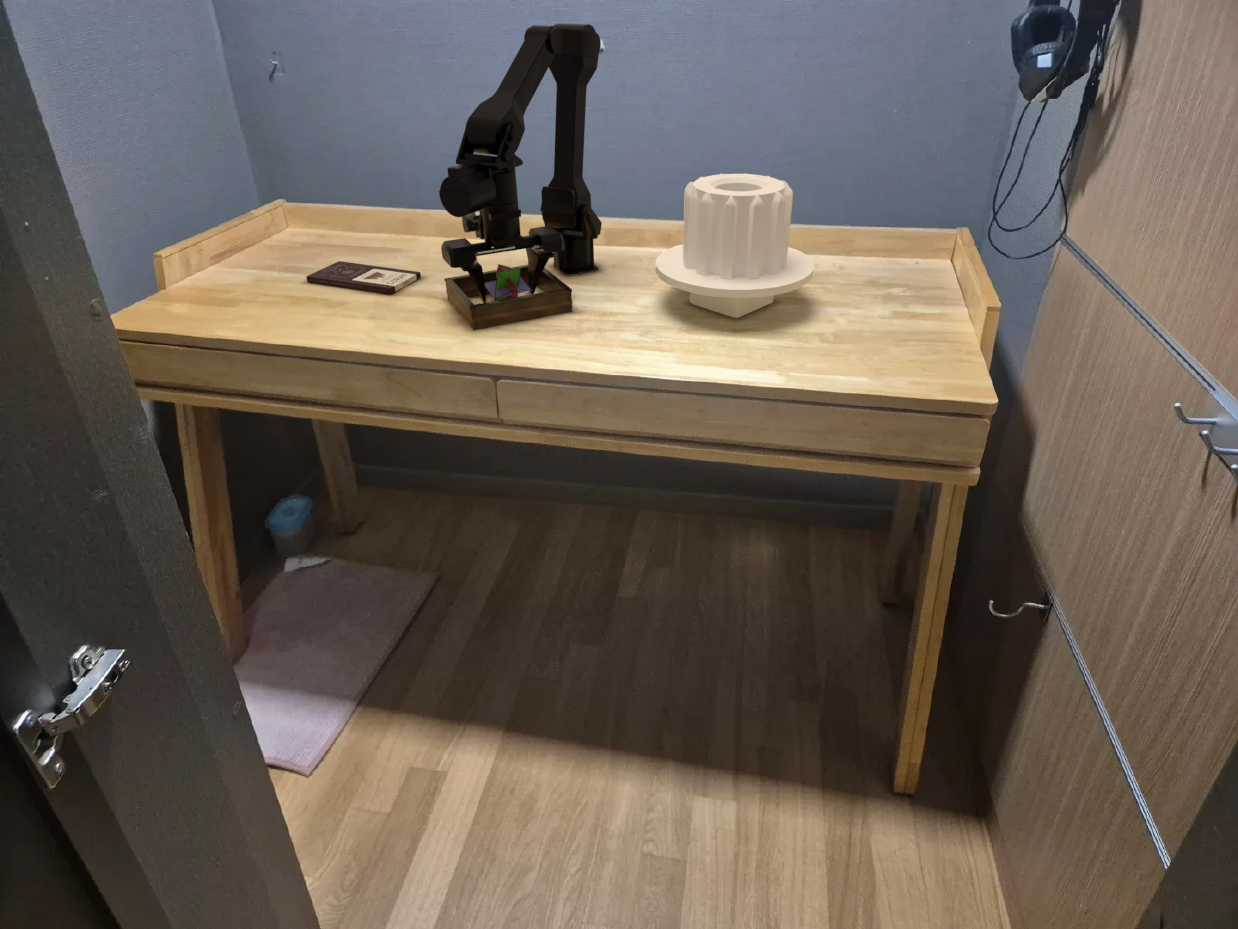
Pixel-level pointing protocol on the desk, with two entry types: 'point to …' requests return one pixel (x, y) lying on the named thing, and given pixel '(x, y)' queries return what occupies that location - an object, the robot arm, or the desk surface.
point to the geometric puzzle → (506, 283)
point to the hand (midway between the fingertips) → (508, 297)
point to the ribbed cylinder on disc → (735, 244)
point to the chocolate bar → (364, 277)
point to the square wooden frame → (508, 300)
